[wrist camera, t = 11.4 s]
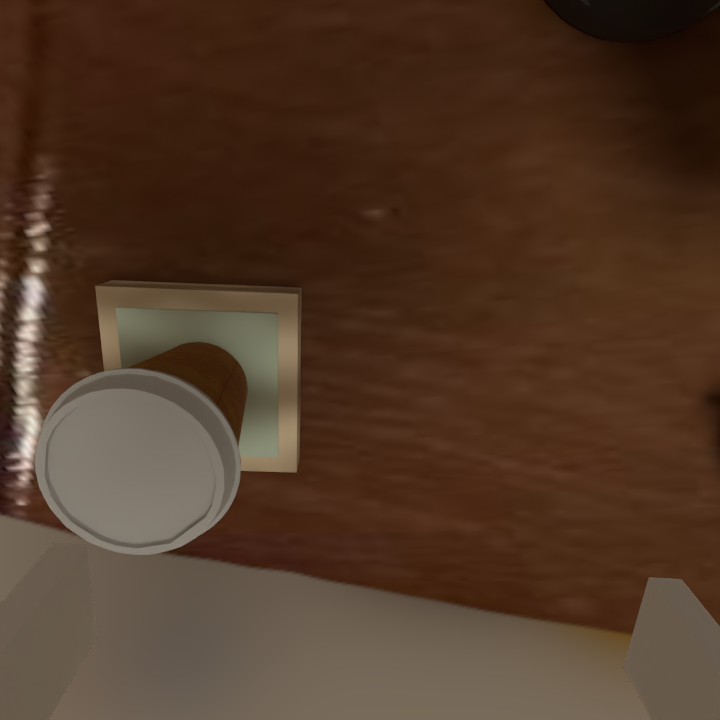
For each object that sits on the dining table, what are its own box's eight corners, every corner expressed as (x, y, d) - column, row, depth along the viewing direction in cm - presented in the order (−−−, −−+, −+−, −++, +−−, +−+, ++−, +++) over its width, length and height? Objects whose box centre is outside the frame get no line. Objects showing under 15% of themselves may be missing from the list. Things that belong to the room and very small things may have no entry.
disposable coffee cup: (151, 458, 37) (62, 575, 25) (112, 328, 34) (-7, 394, 23) (284, 439, 37) (254, 549, 25) (256, 307, 34) (209, 362, 22)
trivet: (112, 280, 36) (93, 286, 33) (301, 287, 36) (297, 294, 34) (128, 450, 40) (112, 469, 37) (299, 456, 40) (296, 474, 38)
